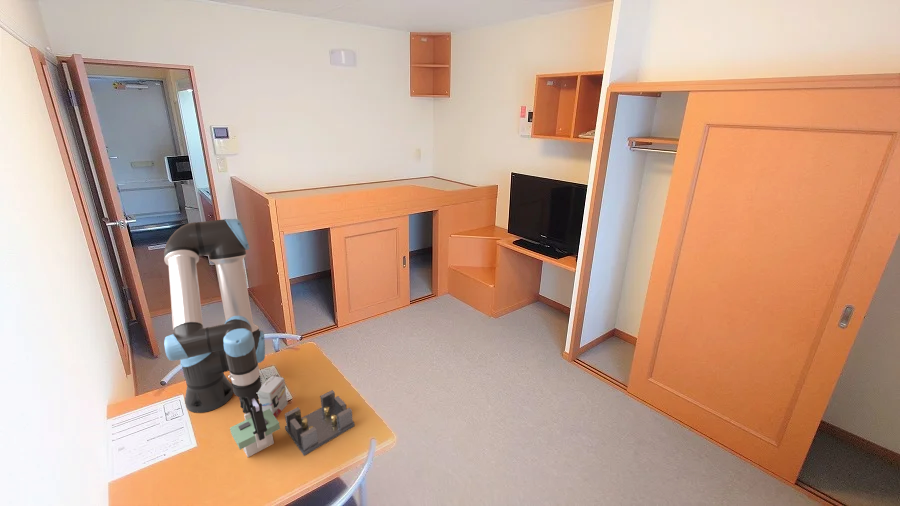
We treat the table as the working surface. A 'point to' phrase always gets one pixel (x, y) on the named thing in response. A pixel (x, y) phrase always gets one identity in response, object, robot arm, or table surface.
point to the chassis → (319, 423)
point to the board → (253, 429)
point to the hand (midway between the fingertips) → (256, 436)
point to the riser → (254, 449)
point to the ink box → (273, 395)
